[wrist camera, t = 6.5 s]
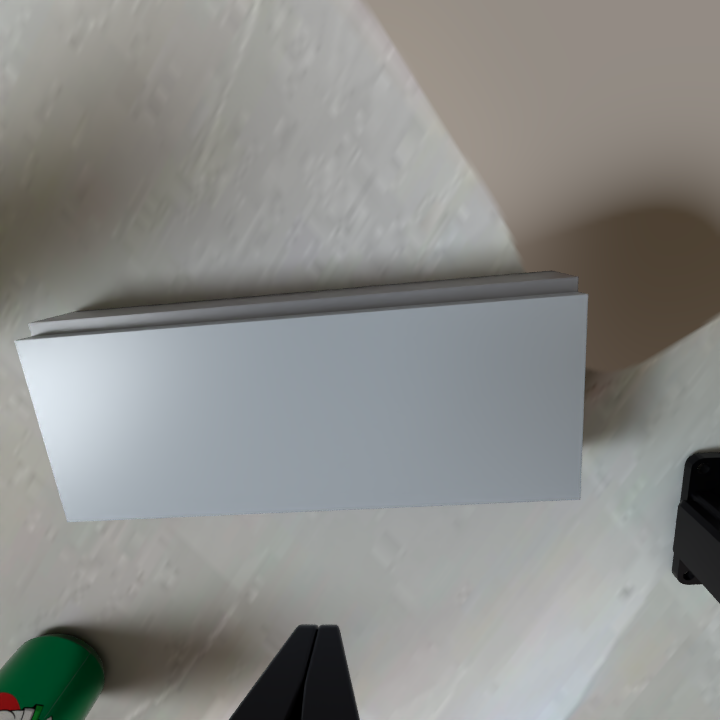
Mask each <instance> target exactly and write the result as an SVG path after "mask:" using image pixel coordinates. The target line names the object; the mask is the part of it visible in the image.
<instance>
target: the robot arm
mask: <svg viewBox="0 0 720 720" xmlns="http://www.w3.org/2000/svg"><path fill="white" fill-rule="evenodd" d="M703 463H704V464H703ZM700 464H703V466H702V467H701V468H699V469H697V468H698V466H699V465H700ZM673 552H674V557H673V565H672V573H673V575H674V576H675V577H676V578H677V579H678V581H679V582H680V583H682V584H686V585H694V584H703V585H704V586H705V588H706V589H707V590H708V591H709V592H710V593H711V594H712V595H713V597H714V598H715V599H716V600H717V601H718V602H719V603H720V452H715V453H698V454H694V455H692V456H690V457H689V458H688V459H687V460H686V463H685V468H684V476H683V484H682V492H681V500H680V504H679V506H678V512H677V520H676V528H675V537H674V545H673ZM687 571H688V572H687ZM685 572H687V573H685ZM229 720H360V719H359V714H358V710H357V705H356V701H355V696H354V692H353V687H352V683H351V678H350V674H349V669H348V665H347V660H346V656H345V651H344V647H343V642H342V638H341V633H340V629H339V627H338V626H337V625H320V626H319V627H318V626H317V625H299V626H298V627H297V628H296V629H295V630H294V632H293V633H292V634H291V636H290V637H289V638H288V640H287V641H286V643H285V644H284V645H283V647H282V648H281V649H280V651H279V652H278V653H277V655H276V656H275V657H274V659H273V660H272V662H271V663H270V664H269V666H268V667H267V668H266V670H265V671H264V672H263V674H262V675H261V677H260V678H259V679H258V681H257V682H256V683H255V685H254V686H253V687H252V689H251V690H250V692H249V693H248V694H247V696H246V697H245V698H244V700H243V701H242V702H241V704H240V705H239V707H238V708H237V709H236V711H235V712H234V713H233V715H232V716H231V717H230V719H229Z"/></svg>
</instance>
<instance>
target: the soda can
mask: <svg viewBox="0 0 720 720" xmlns="http://www.w3.org/2000/svg"><path fill="white" fill-rule="evenodd" d="M104 680H105V679H104V668H103V664H102V661H101V659H100V657H99V655H98V654H97V652H96V651H95V650H94V649H93V648H92V647H91V646H90V645H89V644H87V643H86V642H84V641H83V640H81V639H79V638H77V637H74V636H71V635H67V634H60V633H53V634H47V635H43V636H40V637H36V638H33V639H31V640H29V641H27V642H25V643H24V644H23V645H21V647H20V648H19V649H18V650H17V651H16V652H15V653H14V654H13V656H12V657H11V658H10V659H9V660H8V661H7V662H6V663H5V665H4V666H3V667H2V668H1V669H0V720H84V719H85V718H86V716H87V715H88V713H89V711H90V710H91V708H92V707H93V705H94V703H95V702H96V700H97V699H98V697H99V695H100V694H101V692H102V690H103V687H104Z"/></svg>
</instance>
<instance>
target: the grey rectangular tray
mask: <svg viewBox="0 0 720 720" xmlns="http://www.w3.org/2000/svg"><path fill="white" fill-rule="evenodd" d="M568 292H578V277H577V276H573V275H568V274H564V273H560V272H555V271H542V272H532V273H519V274H508V275H496V276H484V277H473V278H461V279H450V280H438V281H427V282H415V283H403V284H392V285H380V286H369V287H357V288H345V289H334V290H322V291H311V292H299V293H287V294H276V295H264V296H253V297H241V298H229V299H218V300H206V301H195V302H183V303H171V304H160V305H148V306H137V307H125V308H113V309H102V310H90V311H79V312H71V313H67V314H63V315H59V316H55V317H51V318H48V319H44V320H40V321H36V322H32V323H28V325H29V328H30V332H31V335H32V336H43V335H55V334H67V333H80V332H92V331H104V330H116V329H128V328H141V327H153V326H165V325H177V324H189V323H202V322H214V321H226V320H238V319H250V318H263V317H275V316H287V315H299V314H311V313H324V312H336V311H348V310H360V309H372V308H385V307H397V306H409V305H421V304H433V303H446V302H458V301H470V300H482V299H494V298H507V297H519V296H531V295H543V294H555V293H568Z"/></svg>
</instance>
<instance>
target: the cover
mask: <svg viewBox="0 0 720 720" xmlns="http://www.w3.org/2000/svg"><path fill="white" fill-rule="evenodd" d="M587 309H588V294H585V293H581V292H568V293H555V294H543V295H531V296H519V297H507V298H494V299H482V300H470V301H458V302H446V303H433V304H421V305H409V306H397V307H385V308H372V309H360V310H348V311H336V312H324V313H311V314H299V315H287V316H275V317H263V318H250V319H238V320H226V321H214V322H202V323H189V324H177V325H165V326H153V327H141V328H128V329H116V330H104V331H92V332H80V333H67V334H55V335H43V336H32V337H28V338H24V339H20V340H16V341H15V344H16V348H17V351H18V355H19V358H20V361H21V365H22V368H23V372H24V375H25V378H26V382H27V385H28V389H29V392H30V396H31V399H32V402H33V406H34V409H35V413H36V416H37V419H38V423H39V426H40V430H41V433H42V437H43V440H44V443H45V447H46V450H47V454H48V457H49V460H50V464H51V467H52V471H53V474H54V478H55V481H56V484H57V488H58V491H59V495H60V498H61V502H62V505H63V508H64V512H65V515H66V519H67V522H79V521H102V520H125V519H147V518H170V517H193V516H216V515H238V514H261V513H284V512H307V511H329V510H352V509H375V508H398V507H421V506H443V505H466V504H489V503H512V502H534V501H557V500H580V494H581V468H582V442H583V416H584V390H585V363H586V337H587Z"/></svg>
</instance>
